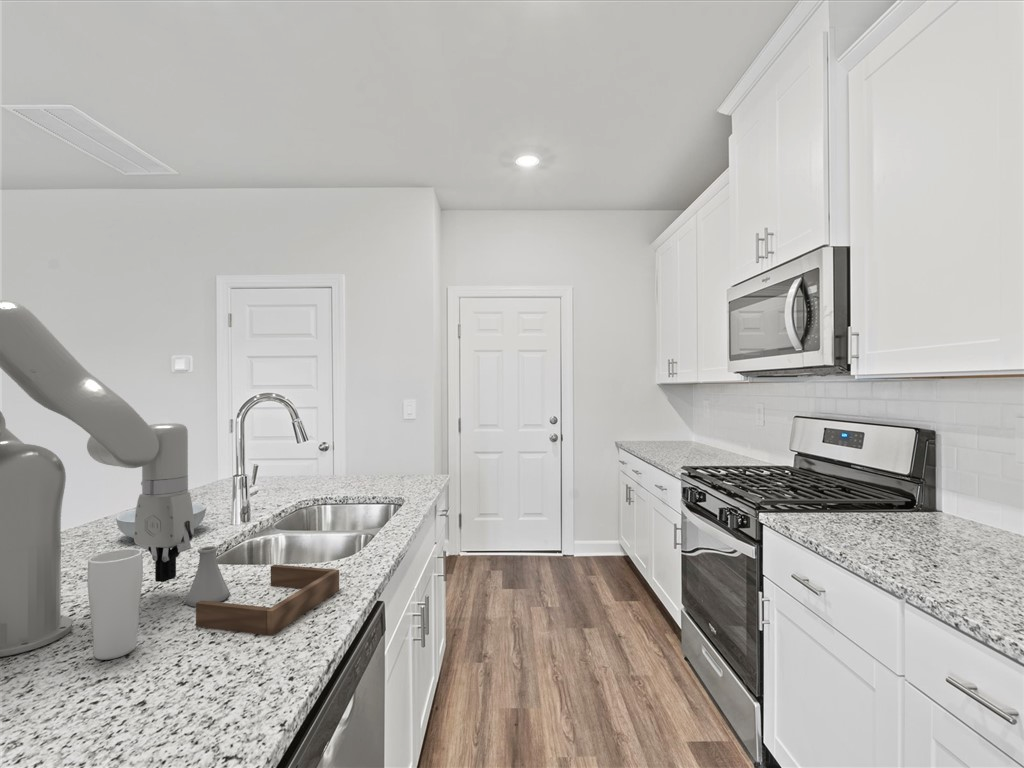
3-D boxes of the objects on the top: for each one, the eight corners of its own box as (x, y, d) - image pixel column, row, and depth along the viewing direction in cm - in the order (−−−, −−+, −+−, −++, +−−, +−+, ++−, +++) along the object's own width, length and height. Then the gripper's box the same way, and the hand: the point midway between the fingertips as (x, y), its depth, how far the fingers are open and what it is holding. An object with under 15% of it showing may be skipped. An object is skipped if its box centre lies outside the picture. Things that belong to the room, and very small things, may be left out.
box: (272, 635, 85) (272, 611, 85) (195, 626, 89) (195, 603, 89) (339, 589, 105) (339, 569, 105) (274, 583, 108) (274, 564, 108)
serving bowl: (95, 544, 137) (95, 518, 137) (165, 524, 157) (165, 501, 157) (159, 549, 132) (159, 522, 132) (223, 528, 152) (223, 504, 153)
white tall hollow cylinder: (135, 637, 85) (135, 545, 85) (148, 650, 80) (148, 554, 81) (82, 654, 79) (82, 556, 80) (93, 669, 75) (94, 565, 75)
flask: (209, 609, 96) (209, 555, 96) (176, 606, 97) (176, 553, 97) (237, 594, 103) (237, 543, 103) (206, 591, 104) (206, 541, 104)
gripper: (116, 488, 100) (116, 583, 100) (181, 491, 97) (181, 589, 97) (151, 481, 108) (151, 570, 108) (212, 484, 104) (212, 575, 104)
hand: (165, 579), depth 102 cm, fingers closed
